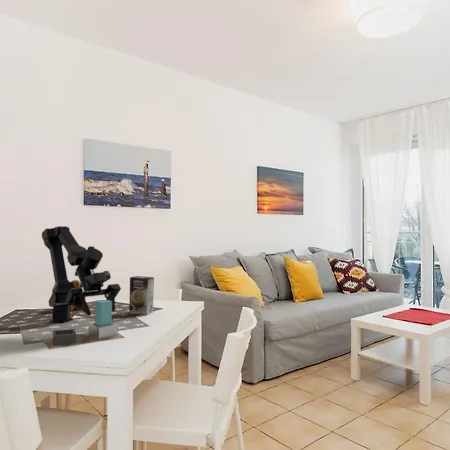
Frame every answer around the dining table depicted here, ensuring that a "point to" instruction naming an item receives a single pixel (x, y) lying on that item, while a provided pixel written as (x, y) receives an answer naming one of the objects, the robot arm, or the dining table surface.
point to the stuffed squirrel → (76, 285)
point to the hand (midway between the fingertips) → (102, 312)
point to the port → (103, 331)
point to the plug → (103, 313)
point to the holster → (64, 336)
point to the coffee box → (141, 295)
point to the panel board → (79, 340)
